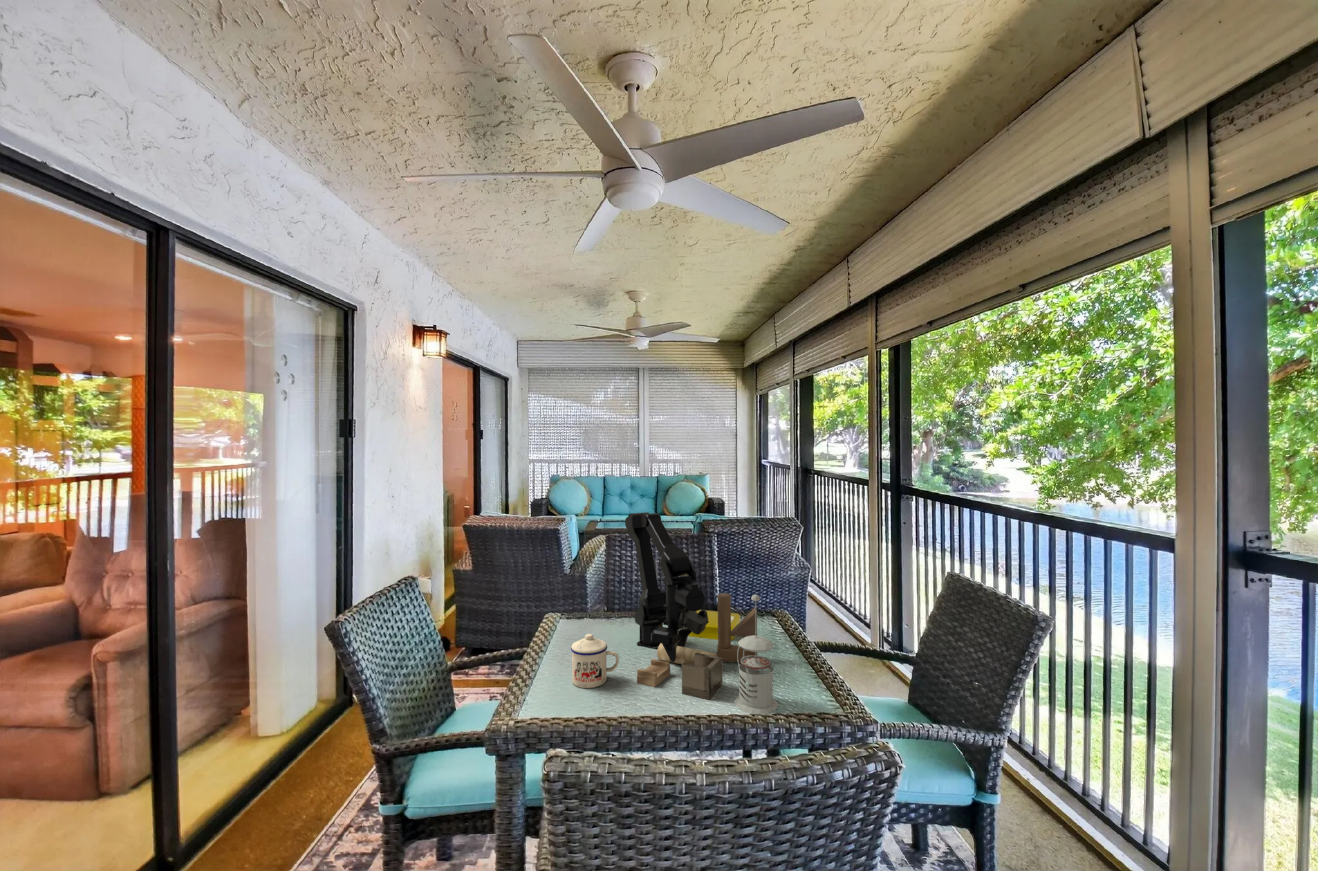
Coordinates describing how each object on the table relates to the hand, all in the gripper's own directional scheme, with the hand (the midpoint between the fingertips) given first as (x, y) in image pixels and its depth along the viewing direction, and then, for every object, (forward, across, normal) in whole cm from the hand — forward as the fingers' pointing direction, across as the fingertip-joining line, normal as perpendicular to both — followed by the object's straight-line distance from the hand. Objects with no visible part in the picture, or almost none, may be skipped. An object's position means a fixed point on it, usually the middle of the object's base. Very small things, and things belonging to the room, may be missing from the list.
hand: (676, 658), depth 153 cm
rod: (+1, 0, -3) cm, 3 cm away
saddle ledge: (+1, -12, 0) cm, 12 cm away
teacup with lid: (+1, -20, +13) cm, 24 cm away
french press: (+1, -12, -26) cm, 29 cm away
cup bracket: (+1, -12, -13) cm, 18 cm away
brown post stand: (+1, +9, -14) cm, 17 cm away
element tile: (+2, +28, +1) cm, 28 cm away
